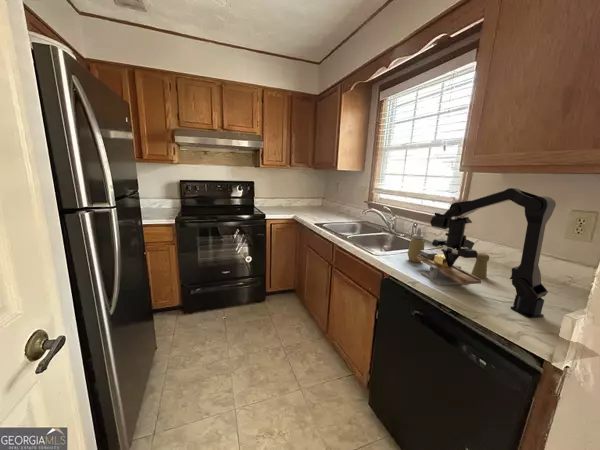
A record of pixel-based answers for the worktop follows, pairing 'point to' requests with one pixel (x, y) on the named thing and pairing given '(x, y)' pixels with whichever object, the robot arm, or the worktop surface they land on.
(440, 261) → the block
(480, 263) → the cork
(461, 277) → the balance beam
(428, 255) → the counterweight
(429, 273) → the pivot stand
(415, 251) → the squeeze bottle
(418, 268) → the worktop surface
